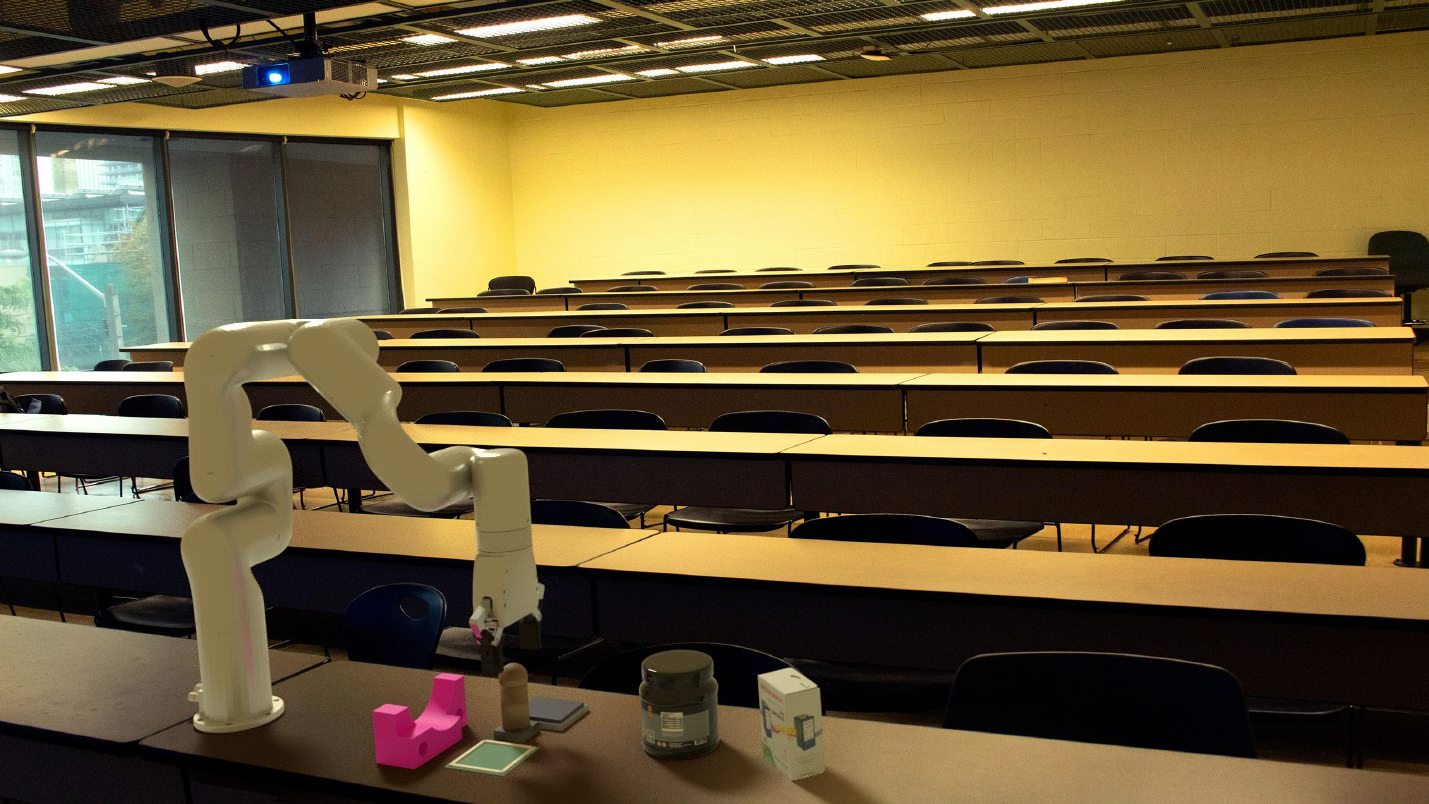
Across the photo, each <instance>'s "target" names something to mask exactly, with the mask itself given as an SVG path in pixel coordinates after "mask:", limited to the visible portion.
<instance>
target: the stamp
mask: <svg viewBox="0 0 1429 804" xmlns="http://www.w3.org/2000/svg"><path fill="white" fill-rule="evenodd" d="M528 678H529V676H528V671H527V670H526V668H525V666H523V665H522V664H520V663H517V662H510V663H507V664H506V665H504V671H503V672H502V673H501V674H498V684H499V694H500V708H501V709H500V710H501V724H500V725H499V726H497V727H496V728H495V729H494V730H493V741H499V742H506V743H514V744H523V743H526V741H528V740H529V739H531V738H532V737H533V736H534V735H536V734H537V733H538V732H539V731H540V729H539V722H538V721H530V717H529V686H528Z"/></svg>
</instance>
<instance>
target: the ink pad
mask: <svg viewBox="0 0 1429 804" xmlns="http://www.w3.org/2000/svg"><path fill="white" fill-rule="evenodd" d="M528 701H529V700H528ZM589 711H590V705H589V704H587V703H585V702H584V701H578V700H570V699H563V698H554V697H544V696H537V695H536V696H535V697H534V698H532V699H530V701H529V717H530V721H538V722H539V730H547V731H555V732H563V731H565V730H566V729H567V728H568V727H570V726H571V725H572V724H573V723H574V724H575V722H576V721H578V720H579V719H580V718H581V717H583V716H584V715H585V714H586V713H588V712H589Z"/></svg>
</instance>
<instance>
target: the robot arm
mask: <svg viewBox="0 0 1429 804" xmlns="http://www.w3.org/2000/svg"><path fill="white" fill-rule="evenodd" d="M379 355H380V343H379V340H378V338H377V336H376V334H375V333H374V331H373V330H372V329H371V328H370V326H368V325H367V324H366V323H364V322H363V321H360V320H358V319H356V318H351V317H343V318H331V319H330V318H328V319H327V318H326V319H322V318H321V319H280V320H278V319H277V320H267V321H248V322H237V323H231V324H226V325H221V326H217V327H214V328H212V329H210V330H208V331H206V332H204V333H202V334H200V335H199V336H198V337H196V339H195V340H194V341H193V342H192V343H191V344H190V346H189V348H188V350H187V352H186V354H185V357H184V361H183V362H184V363H183V371H182V373H183V381H184V389H185V394H186V402H187V410H188V411H187V412H188V422H187V427H188V430H187V431H188V459H189V478H190V479H189V481H190V485H191V487H192V490H193V493H194V494H195V495H196V496H197V498H198V499H200V500H202V501H204V502H206V503H211V504H212V503H213V504H219V503H220V504H221V503H227V502H230V501H231V502H232V501H234V500H236V501H237V503H236V504H234V505H230V506H227V507H224V508H220V509H217V510H214V511H212V512H209V513H207V514H204V515H202V516H200V517H198V518H197V519H195V520H193V522H191V523H190V524H189V525H188V527H187V528H186V529H185V530H184V532H183V535H182V537H181V539H180V540H181V541H180V554H181V559H182V562H183V565H184V568H185V571H186V574H187V577H188V582H189V584H190V589H191V596H192V604H193V611H194V622H195V629H196V639H197V641H196V642H197V649H198V660H199V661H198V662H199V671H200V673H199V674H200V681H201V683H200V682H199V683H197V684H196V685H194V687H193V691H191V692H189V693H188V695H187V700H188V701H189V702H193V703H198V708H199V710H198V711H197V712H196V713H195V714H194V716H193V717H192V718H193V719H192V721H193V726H194V727H195V729H197V730H198V731H201V732H203V733H209V734H227V733H229V734H230V733H236V732H241V731H247V730H251V729H253V728H257V727H261V726H263V725H266V724H268V723H271V722H273V721H274V720H276V719H278V718H279V717H280V716H281V715H283V713H284V712H285V702H284V700H283V699H282V698H280V697H278V696H275V695H273V692H272V691H273V690H272V679H271V670H270V658H269V657H270V656H269V648H268V636H267V635H268V633H267V623H266V613H265V603H264V596H263V593H262V590H261V588H260V585H259V584H258V581H257V580H256V578H255V577H254V574H253V573H252V570H251V567H254V566H255V565H257V564H260V563H263V562H266V561H267V560H269V559H272V558H275V557H276V556H278V555H280V554H281V553H282V552H283V551H284V550H285V549H287V547H288V545H289V544H290V541H291V539H292V536H293V530H294V529H293V528H294V498H293V497H294V493H293V491H294V488H293V487H294V486H293V465H292V463H293V462H292V458H291V456H290V452H289V450H288V448H287V446H286V444H285V443H284V441H283V440H282V439H281V438H280V437H279V436H277V435H276V434H274V433H273V432H271V431H267V430H264V429H253V420H252V419H253V412H252V406H251V402H250V400H249V397H248V394H247V392H245V390H244V388H243V386H242V385H243V384H246V383H250V382H257V381H266V380H267V381H268V380H273V379H279V378H287V377H294V376H295V377H298V376H301V377H302V378H303V379H304V381H306V383H308V384H309V385H310V386H311V387H312V388H313V389H314V390H315V391H316V392H317V393H318V394H320V395H321V396H322V397H323V398H324V399H325V400H326V401H327V403H329V405H331V406H332V407H333V408H334V410H336V411H337V412H338V413H339V414H340V415H341V416H342V417H343V418H344V419H345V420H346V421H347V422H348V423H349V424H351V426H352V427H353V428H354V429H355V432H356V438H357V441H358V445H359V448H360V450H361V453H362V455H363V457H364V459H365V461H366V464H367V465H368V467H369V469H370V470H371V471H372V472H373V474H374V476H376V477H377V479H379V480H380V481H381V482H382V483H383V485H385V486H386V487H387V488H388V489H389V491H391V492H392V493H393V494H394V495H395V496H396V497H398V498H399V499H400V500H401V501H402V502H403V503H405V504H406V505H408V506H410V507H411V508H413V509H416V510H418V511H420V512H421V511H422V512H430V513H431V512H435V511H440V510H442V509H445V508H446V507H449V506H451V505H453V504H455V503H459V502H462V501H464V500H467V499H471V498H473V508H474V509H473V511H474V512H473V513H474V523H475V539H476V550H477V551H476V553H477V554H476V555H475V558H474V563H473V574H472V575H473V578H472V607H473V612H472V615H471V617H470V618H469V621H468V624H469V627H470V629H471V632H472V635H473V637H474V639H475V640H476V644H477V645H479V651H480V652H479V653H480V654H479V655H480V665H481V666H480V668H481V672H482V673H489V674H497V675H499V674H501V673H502V672H503V671H504V666H505V665H504V652H503V644H502V643H500V640H501V637H502V633H503V631H504V628H506V627H509V626H511V625H512V624H514V623H516V622H518V633H519V635H518V636H519V647H520V649H522V650H531V651H539V650H540V649H542V637H541V636H542V635H541V634H542V633H541V620H542V613H541V611H542V608H543V606H544V601H543V599H544V593H545V585H544V584H542V583H540V582H539V581H538V580H539V579H538V573H537V571H538V570H537V564H536V560H535V554H534V549H533V547H534V546H533V533H532V532H533V530H532V515H531V503H530V502H531V500H530V499H531V497H530V485H529V470H528V469H529V467H528V466H529V465H528V459H527V456H526V454H525V452H523V451H522V450H520V449H516V448H508V447H507V448H494V449H493V448H491V449H484V448H478V447H477V448H476V447H473V446H472V447H471V446H467V445H466V446H465V445H455V446H450V447H447V448H444V449H440V450H437V451H433V452H430V453H427V452H426V451H425V450H424V449H423V448H422V447H421V446H420V445H418V443H417V442H415V441H414V439H412V438H411V436H410V435H409V434H408V433H407V432H406V431H405V429H404V428H403V426H402V425H401V423H400V420H399V418H398V414H397V407H398V406H399V403H401V399H402V396H403V390H402V386H401V385H400V383H399V382H398V381H396V379H394V378H393V377H392V376H391V375H390V374H389V373H388V372H387V371H386V370H385V369H384V368H383V367H382V366H381V365H379V363H377V361H378V358H379ZM494 620H495V621H494ZM490 629H493V633H491V632H490Z"/></svg>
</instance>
